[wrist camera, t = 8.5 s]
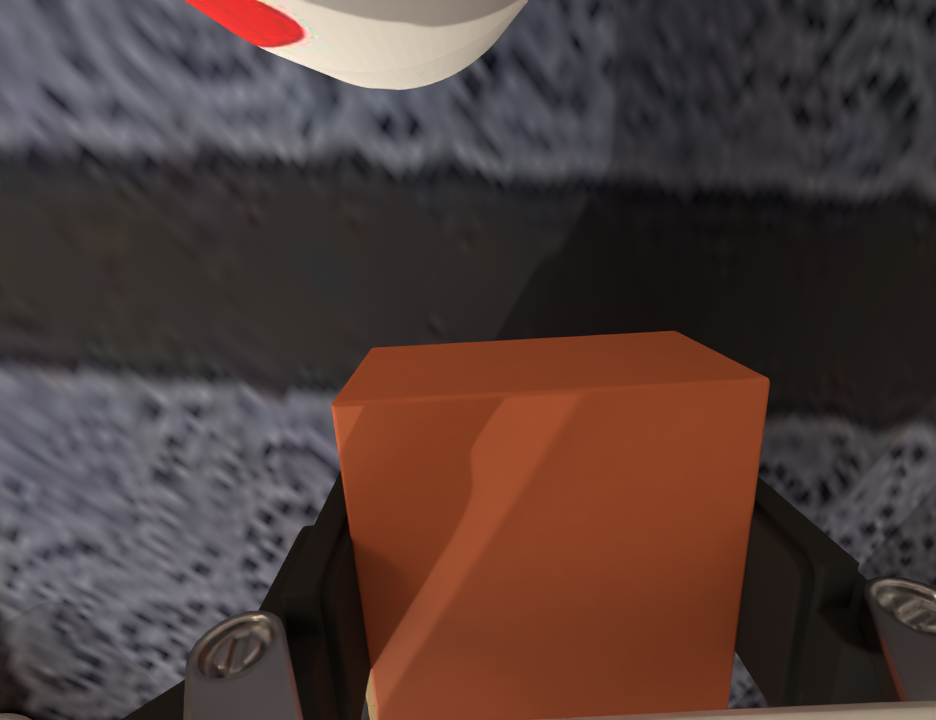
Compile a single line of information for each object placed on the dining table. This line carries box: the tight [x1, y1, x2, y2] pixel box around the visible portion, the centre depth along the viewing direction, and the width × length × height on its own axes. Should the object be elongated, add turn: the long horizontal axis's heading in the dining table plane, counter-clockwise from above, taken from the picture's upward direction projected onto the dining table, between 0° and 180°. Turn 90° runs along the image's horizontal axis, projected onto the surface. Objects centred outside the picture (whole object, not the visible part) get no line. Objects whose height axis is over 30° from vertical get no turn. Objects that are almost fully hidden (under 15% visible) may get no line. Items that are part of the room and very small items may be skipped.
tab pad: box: [332, 331, 770, 720], centre depth 11 cm, size 11×7×4 cm, turn 3°
